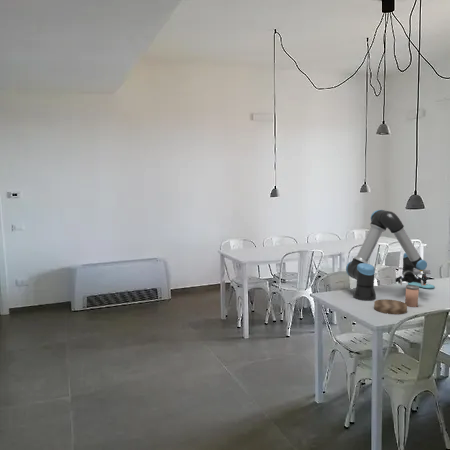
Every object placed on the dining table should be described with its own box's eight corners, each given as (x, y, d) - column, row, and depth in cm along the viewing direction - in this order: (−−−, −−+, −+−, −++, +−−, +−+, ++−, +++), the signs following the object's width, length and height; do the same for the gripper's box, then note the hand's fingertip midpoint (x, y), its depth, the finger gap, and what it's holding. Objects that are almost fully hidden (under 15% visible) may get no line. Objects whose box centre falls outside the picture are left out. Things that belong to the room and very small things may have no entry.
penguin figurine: (436, 288, 369) (437, 268, 367) (430, 290, 362) (431, 270, 360) (411, 283, 384) (412, 264, 382) (405, 285, 377) (406, 266, 375)
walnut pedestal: (374, 312, 303) (374, 306, 303) (373, 304, 323) (374, 298, 322) (408, 315, 298) (408, 309, 298) (405, 306, 317) (405, 300, 317)
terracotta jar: (405, 306, 318) (406, 287, 316) (404, 303, 326) (405, 284, 324) (418, 307, 316) (419, 288, 314) (417, 304, 324) (418, 285, 322)
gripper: (427, 282, 346) (431, 290, 326) (390, 280, 353) (392, 287, 333) (427, 272, 345) (431, 279, 325) (391, 270, 352) (392, 277, 332)
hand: (411, 283), depth 329 cm, fingers open, 13 cm apart
